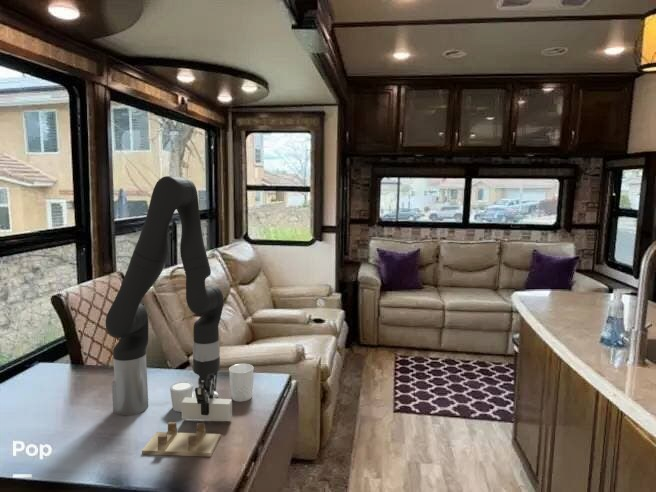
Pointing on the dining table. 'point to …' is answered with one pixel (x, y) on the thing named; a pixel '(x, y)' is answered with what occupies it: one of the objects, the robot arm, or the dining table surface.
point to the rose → (213, 396)
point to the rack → (182, 442)
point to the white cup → (241, 381)
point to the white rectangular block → (217, 409)
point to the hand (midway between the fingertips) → (207, 411)
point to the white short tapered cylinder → (180, 394)
